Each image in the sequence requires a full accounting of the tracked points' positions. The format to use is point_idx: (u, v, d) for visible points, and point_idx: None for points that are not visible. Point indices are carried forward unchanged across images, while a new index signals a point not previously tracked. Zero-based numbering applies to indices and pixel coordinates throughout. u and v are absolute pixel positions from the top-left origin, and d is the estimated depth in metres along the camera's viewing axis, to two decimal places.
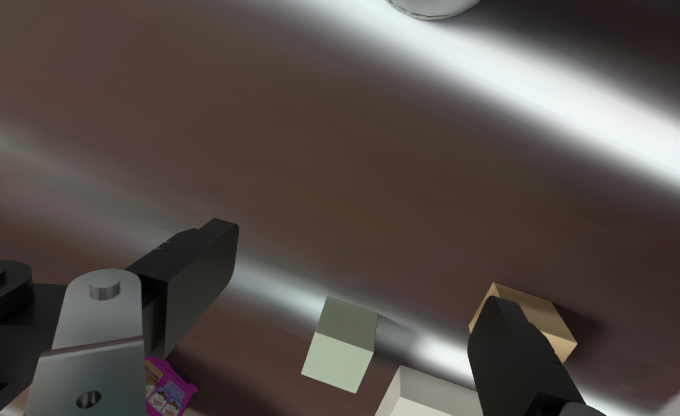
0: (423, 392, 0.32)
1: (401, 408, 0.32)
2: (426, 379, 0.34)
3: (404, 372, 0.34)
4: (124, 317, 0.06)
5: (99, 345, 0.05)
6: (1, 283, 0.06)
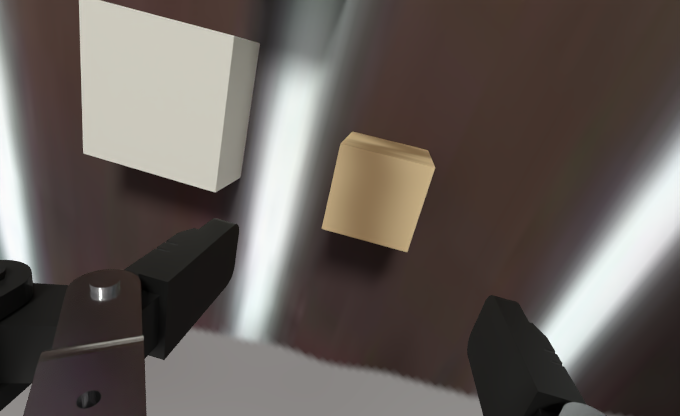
0: (239, 80, 0.21)
1: (209, 42, 0.19)
2: (249, 87, 0.22)
3: (254, 49, 0.21)
4: (124, 317, 0.06)
5: (99, 345, 0.05)
6: (1, 283, 0.06)
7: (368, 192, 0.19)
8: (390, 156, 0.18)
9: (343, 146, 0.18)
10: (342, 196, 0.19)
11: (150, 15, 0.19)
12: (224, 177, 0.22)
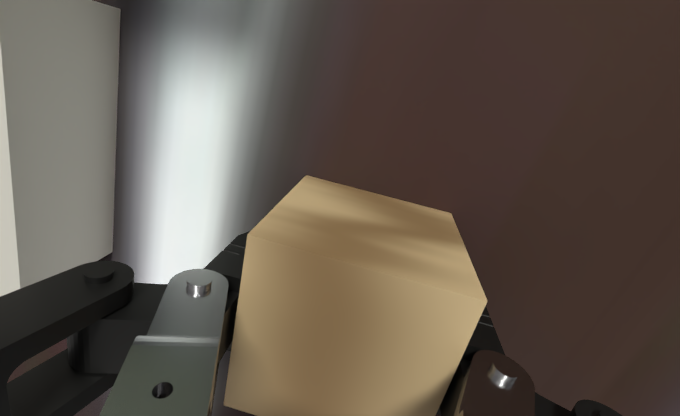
0: (55, 82, 0.10)
1: None
2: (101, 95, 0.11)
3: (100, 19, 0.10)
4: (224, 313, 0.07)
5: (181, 339, 0.05)
6: (111, 282, 0.07)
7: (322, 343, 0.08)
8: (372, 268, 0.07)
9: (255, 241, 0.07)
10: (263, 347, 0.08)
11: None
12: (51, 269, 0.12)
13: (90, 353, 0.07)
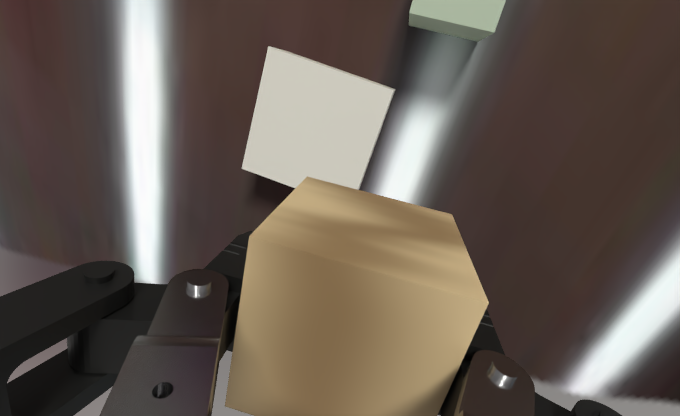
0: None
1: (372, 92, 0.23)
2: None
3: None
4: (225, 313, 0.07)
5: (181, 340, 0.05)
6: (112, 282, 0.07)
7: (324, 344, 0.08)
8: (374, 270, 0.07)
9: (256, 242, 0.07)
10: (265, 349, 0.08)
11: (326, 67, 0.23)
12: None
13: (90, 353, 0.07)
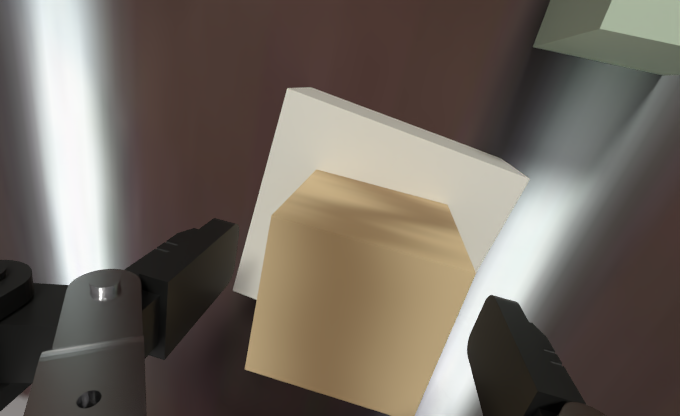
0: None
1: (485, 181, 0.12)
2: None
3: None
4: (125, 317, 0.06)
5: (99, 345, 0.05)
6: (2, 283, 0.06)
7: (334, 311, 0.09)
8: (378, 244, 0.08)
9: (277, 221, 0.08)
10: (281, 316, 0.09)
11: (399, 132, 0.12)
12: None
13: None
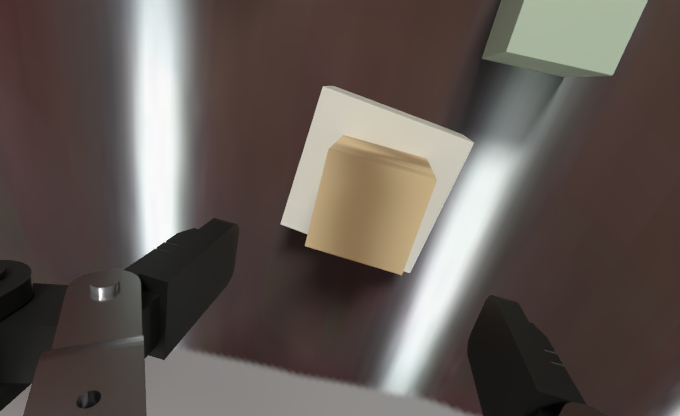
0: None
1: (447, 144, 0.20)
2: None
3: None
4: (124, 317, 0.06)
5: (99, 345, 0.05)
6: (1, 283, 0.06)
7: (359, 206, 0.16)
8: (385, 165, 0.16)
9: (331, 152, 0.16)
10: (329, 210, 0.17)
11: (393, 114, 0.20)
12: None
13: None
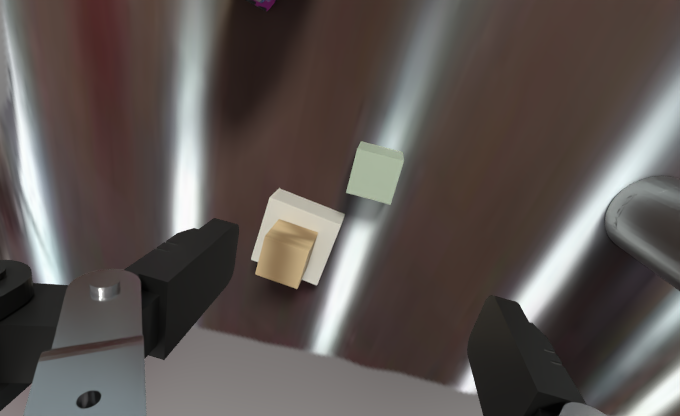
0: None
1: (329, 225, 0.41)
2: None
3: None
4: (124, 317, 0.06)
5: (99, 345, 0.05)
6: (1, 283, 0.06)
7: (278, 259, 0.38)
8: (288, 244, 0.37)
9: (266, 237, 0.37)
10: (265, 259, 0.38)
11: (303, 210, 0.41)
12: None
13: None
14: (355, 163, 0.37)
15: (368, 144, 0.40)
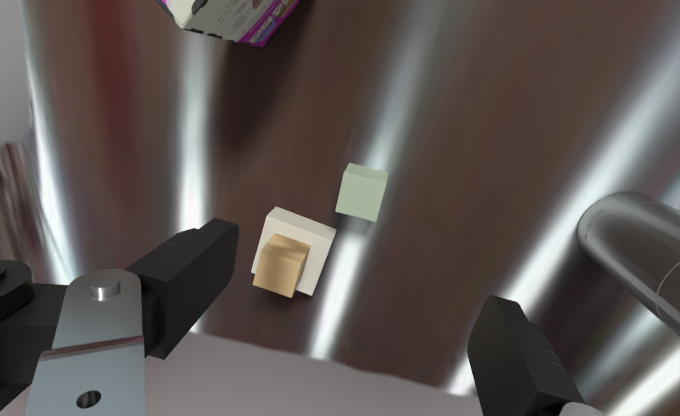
0: (328, 250, 0.47)
1: (321, 241, 0.45)
2: None
3: None
4: (124, 317, 0.06)
5: (99, 345, 0.05)
6: (1, 283, 0.06)
7: (273, 270, 0.42)
8: (282, 257, 0.41)
9: (262, 251, 0.41)
10: (262, 271, 0.42)
11: (297, 227, 0.45)
12: None
13: None
14: (342, 185, 0.41)
15: (356, 166, 0.44)
